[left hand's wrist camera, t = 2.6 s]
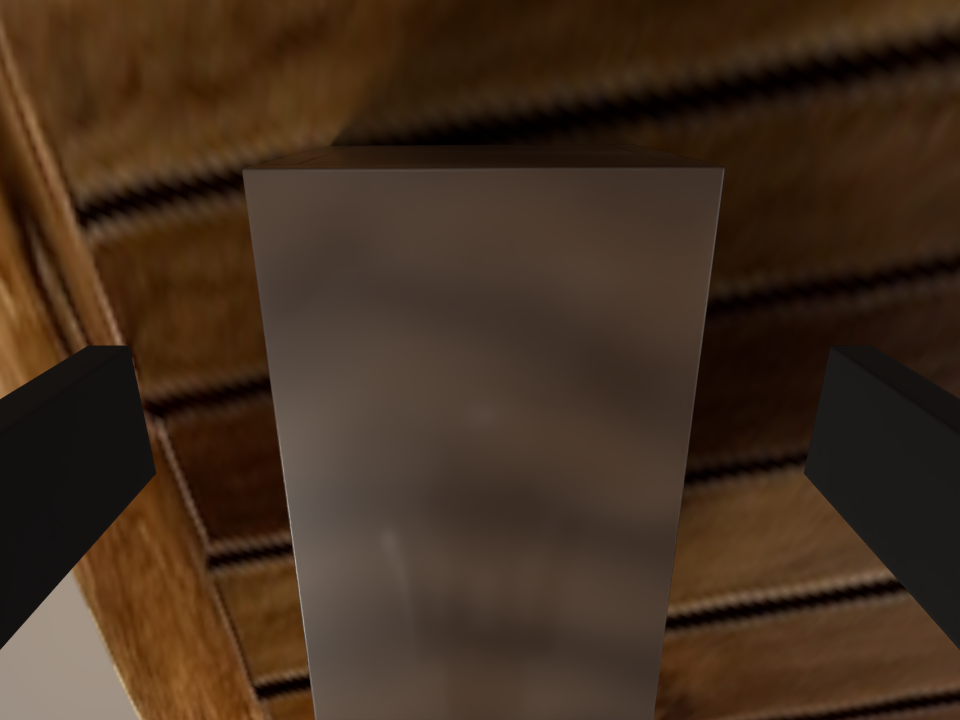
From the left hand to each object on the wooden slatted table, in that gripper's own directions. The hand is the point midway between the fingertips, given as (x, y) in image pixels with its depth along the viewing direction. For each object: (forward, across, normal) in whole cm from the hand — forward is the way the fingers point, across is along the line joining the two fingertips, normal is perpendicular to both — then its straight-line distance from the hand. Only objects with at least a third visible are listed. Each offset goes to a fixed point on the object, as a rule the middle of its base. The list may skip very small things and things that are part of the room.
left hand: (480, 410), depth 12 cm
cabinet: (+14, 0, -6) cm, 16 cm away
